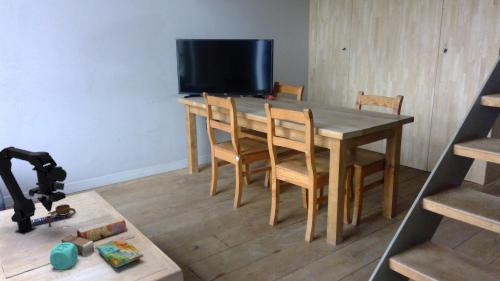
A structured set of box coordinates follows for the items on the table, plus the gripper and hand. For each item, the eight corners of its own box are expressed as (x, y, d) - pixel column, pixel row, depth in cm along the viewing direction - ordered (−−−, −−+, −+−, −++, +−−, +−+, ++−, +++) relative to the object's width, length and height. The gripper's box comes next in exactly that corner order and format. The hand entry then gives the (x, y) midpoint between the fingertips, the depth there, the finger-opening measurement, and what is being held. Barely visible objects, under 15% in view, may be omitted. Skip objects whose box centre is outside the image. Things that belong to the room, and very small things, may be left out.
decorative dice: (79, 259, 167) (76, 241, 165) (71, 269, 159) (68, 251, 157) (59, 259, 166) (57, 242, 164) (51, 270, 159) (48, 252, 157)
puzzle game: (122, 235, 177) (143, 252, 163) (123, 244, 178) (143, 262, 164) (96, 244, 170) (115, 262, 155) (97, 254, 171) (116, 273, 156)
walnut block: (61, 239, 173) (83, 246, 167) (70, 234, 177) (93, 241, 171) (62, 249, 174) (84, 257, 168) (72, 244, 179) (94, 251, 172)
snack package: (121, 227, 195) (120, 214, 194) (127, 231, 190) (126, 218, 189) (77, 241, 182) (75, 227, 180) (82, 246, 177) (80, 232, 175)
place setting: (84, 214, 211) (83, 204, 210) (50, 229, 195) (48, 218, 193) (63, 208, 220) (61, 198, 218) (28, 222, 203) (26, 211, 201)
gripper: (73, 177, 184) (77, 208, 188) (47, 171, 193) (51, 201, 196) (52, 184, 175) (56, 217, 178) (25, 178, 183) (30, 210, 187)
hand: (49, 211), depth 185 cm, fingers closed
